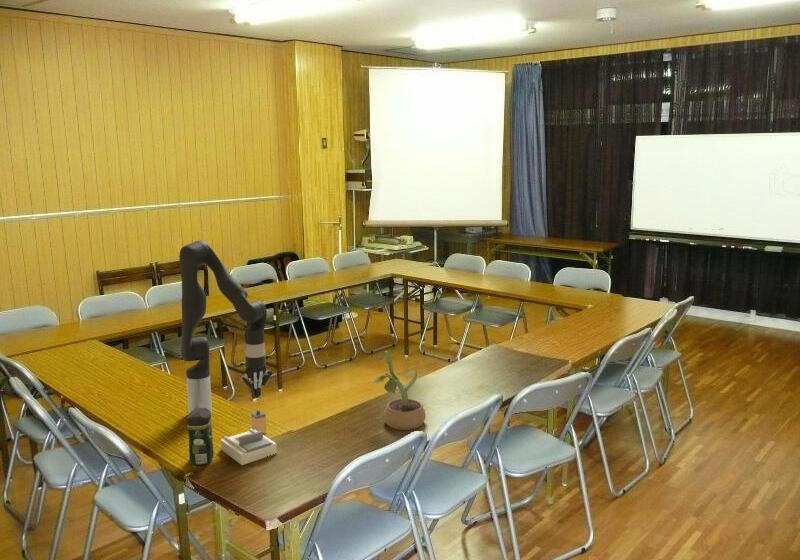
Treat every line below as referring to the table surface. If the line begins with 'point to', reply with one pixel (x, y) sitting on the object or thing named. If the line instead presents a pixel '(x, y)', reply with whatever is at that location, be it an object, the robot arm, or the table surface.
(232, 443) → the socket
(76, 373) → the table surface
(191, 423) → the coffee jar
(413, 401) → the potted plant
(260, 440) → the shutter
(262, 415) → the plug
